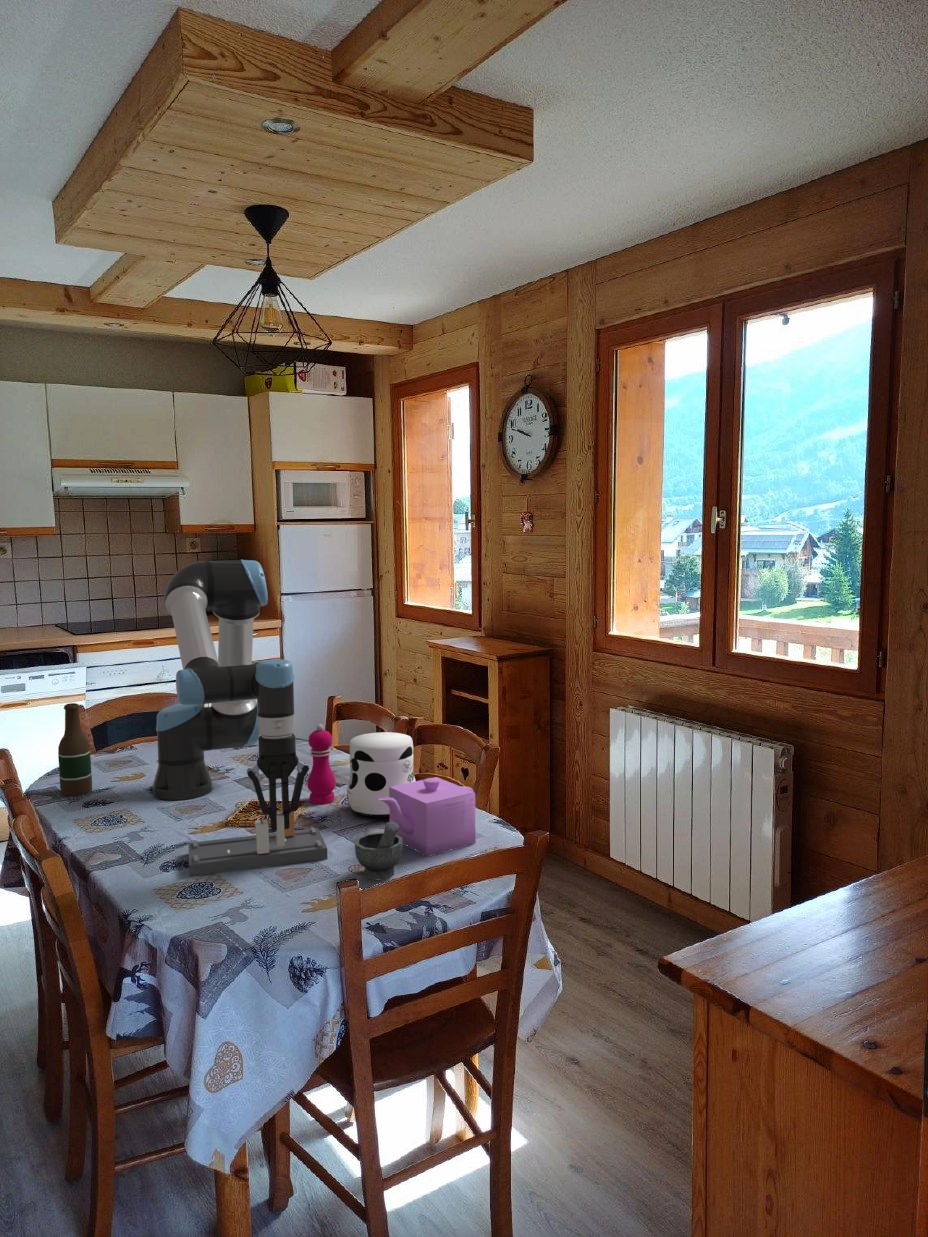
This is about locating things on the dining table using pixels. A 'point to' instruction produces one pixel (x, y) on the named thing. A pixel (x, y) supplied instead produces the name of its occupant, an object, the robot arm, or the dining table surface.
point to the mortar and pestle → (379, 852)
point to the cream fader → (262, 836)
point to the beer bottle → (74, 756)
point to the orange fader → (292, 825)
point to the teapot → (433, 815)
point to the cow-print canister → (378, 770)
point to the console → (254, 852)
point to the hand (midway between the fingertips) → (280, 844)
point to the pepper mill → (321, 768)
